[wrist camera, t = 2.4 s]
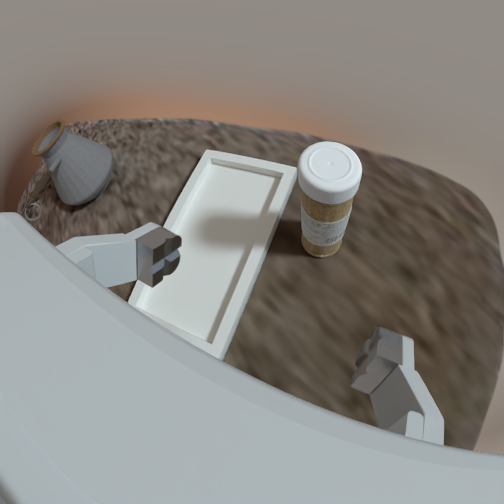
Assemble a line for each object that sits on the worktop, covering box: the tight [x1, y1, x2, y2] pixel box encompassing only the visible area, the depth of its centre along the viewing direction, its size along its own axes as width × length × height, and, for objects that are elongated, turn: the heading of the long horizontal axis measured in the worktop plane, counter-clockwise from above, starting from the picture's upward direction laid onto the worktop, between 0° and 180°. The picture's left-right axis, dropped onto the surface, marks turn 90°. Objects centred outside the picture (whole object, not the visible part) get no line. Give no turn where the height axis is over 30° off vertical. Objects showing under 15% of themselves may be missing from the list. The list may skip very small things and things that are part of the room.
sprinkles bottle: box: [298, 142, 362, 258], centre depth 24 cm, size 5×5×14 cm
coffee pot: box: [25, 120, 113, 220], centre depth 31 cm, size 21×12×15 cm, turn 25°
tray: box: [128, 150, 297, 360], centre depth 31 cm, size 23×12×2 cm, turn 158°
